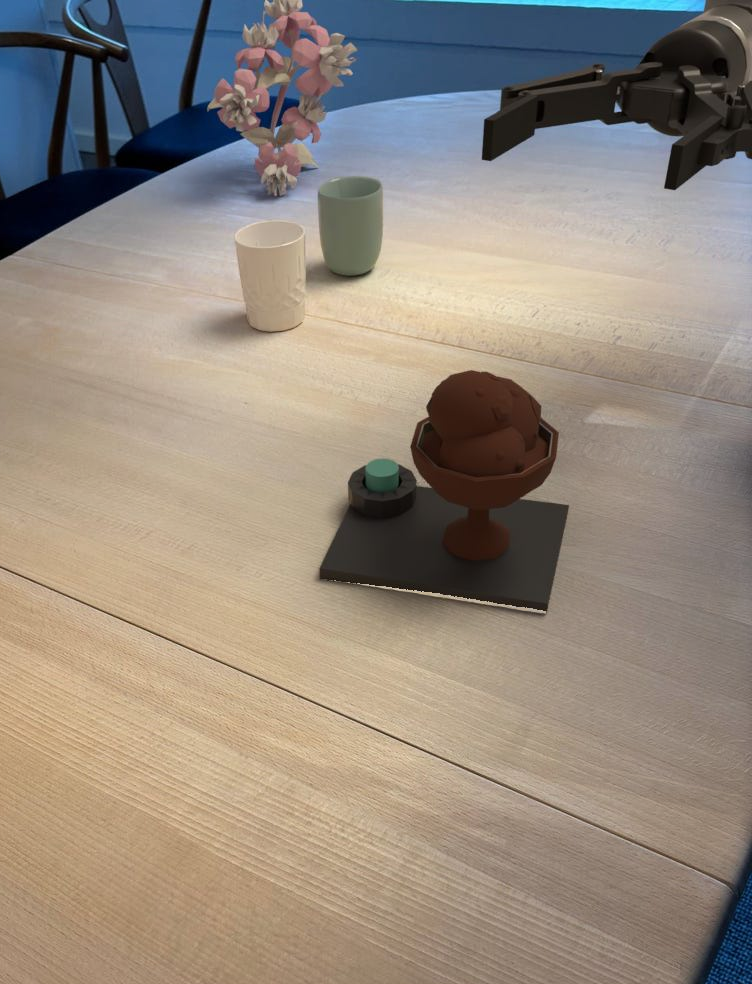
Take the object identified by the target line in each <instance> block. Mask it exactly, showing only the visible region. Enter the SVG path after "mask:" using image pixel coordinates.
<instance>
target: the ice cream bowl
mask: <svg viewBox="0 0 752 984" xmlns="http://www.w3.org/2000/svg"><path fill="white" fill-rule="evenodd" d="M425 409H426V412H427V415H428V416H427V417H426V418H424V419H421V420H420V421H418V422H416V426H415V430H414V433H413V436H412V438H411V443H410V446H409V447H410V451H411V452H410V453H411V457H412V461H413V464H414V466H415V468H416V470H417V472H418V473H419V476H421V478H422V479H423V480H424V481H425V482H426V483H427V484H428V485H429V487H430V488H433V490H434V491H435V492H436V493H437V494H438V495H439V496H441V497H442V498H443V499H445V500H446V501H447V502H450V503H453V504H457V505H460V506H464V507H467V508H468V516H467V517H461V518H459V519H457V520H456V521H454V522H452V523H451V524H449V525H447V527H446V530H445V533H444V538H443V542H442V543H443V544H444V546H445V547H446V548H447V549H448V550H449V551H450V552H451V554H452V555H455V556H458V557H461V558H465V559H468V560H471V561H477V560H488V559H495V558H496V557H498V556H499V555H501V554H502V553H504V552H505V551H507V550H509V544H510V537H511V536H510V533H509V531H508V530H507V529H506V528H505V527H504V526H503V525H502V524H501V523H500V522H499V521H498V520H495V519H491V518H489V510H490V509H493V508H502V507H507V506H508V505H510V504H512V503H513V502H515V501H517V500H518V499H523V497H525V496H527V495H528V494H530V493H531V492H532V491H535V490H536V489H538V488H539V487H541V486H542V485H543V484H544V483H545V481H546V480H547V479H548V478H549V476H550V474H551V473H552V469H553V467H554V464H555V462H556V460H557V456H558V455H557V454H558V446H559V445H558V444H559V435H560V432H559V431H558V430H557V429H556V428H554V427H553V426H552V425H551V424H550V423H548V422H547V421H546V420H545V419H543V418H542V404H540V403H539V402H538V400H537V399H536V398H535V397H534V396H533V395H531V394H530V393H529V392H528V391H527V390H526V389H524V388H523V386H521V385H519V384H518V383H517V382H516V381H514V380H513V379H511V378H507V377H502V376H497V375H495V374H493V373H491V372H489V371H478V370H473V369H469V370H466V371H462V372H456V373H452V374H450V375H448V376H447V377H446V378H445V379H443V380H442V381H440V383H439V384H437V386H436V387H435V388H434V389H433V391H432V392H431V397H430V398H429V401H428V402H427V404H426V406H425Z"/></svg>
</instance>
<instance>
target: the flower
mask: <svg viewBox="0 0 752 984" xmlns="http://www.w3.org/2000/svg"><path fill="white" fill-rule="evenodd" d="M263 7H264V10H263V12H262V21H261V22H256V23H257V24H256V23H255V22H252V24H253V26H252V27H251V28H250V29H248V27H247V25H246V23H244V25H243V30H242V36H241V37H242V40H243V41H244V42H245V44H246V45H248V46H249V47H247V48H244V49H241V50H239V51H236V55H235V58H234V61H235V65H236V69H237V70H235V71H234V75H233V77H234V78H233V87H232V86H231V84H230V83H228V81H227V80H226V79H224V78H223V77H222V78H221V79H220V80H219V82H218V83H217V85H216V87H215V89H214V92H213V93H214V98H213V99H212V100H211V101H210V102H209V104H208V105H207V108H206V111H207V112H209V111H210V110H214V109H217V108H221V109H219V110H218V111H217V112H216V113H217V115H218V118H219V120H220V121H221V123H223V125H225V126H226V127H228V128H229V129H233V128H235V130H236V131H237V132H241V133H239V135H240V136H242V137H243V138H244V139H245V140H247V141H248V142H249V143H251V144H252V145H254V146H255V147H256V148H258V154H257V156H258V157H254V169H255V171H257V173H258V174H259V176H261V177H260V185H263V184H265V183H266V189H265V191H267V196H270V195H272V196H275V197H277V196H278V195H277V191H278V193H279V197H282V196H285V195H286V194H287V191H288V190H287V185H289V186H290V187H291V188H292V189H293V190H294V189H295V187H296V185H297V183H298V178H296V177H297V176H298V175H299V174H300V173H301V171H302V167H306V166H309V165H312V166H314V167H316V168H317V169H319V165H318V164H317V162H316V161H315V159H314V158H313V155H312V153H311V151H310V150H309V148H307V146H306V145H305V144H303V143H302V142H303V141H304V140H306V139H308V138H309V137H310V136H311V134H312V138H311V142H310V144H317V143H319V142H320V139H321V137H322V131H321V129H320V127H319V125H318V123H319V124H320V123H321V122H323V121H325V120H326V117H327V113H328V111H324V110H325V108H326V107H327V105H324V103H322V101H323V99H321V98H322V97H323V96H324V95H326V94H327V93H329V91H330V90H331V88H332V86H333V87H337V88H339V87H340V88H341V87H344V86H345V84H344V83H343V81H342V80H341V79H340V78H339V77H338V76H343V75H346V76H349V77H351V76H352V75H354V73H353V71H352V70H351V68H346V67H350V65H351V64H353V63H355V62H356V60H357V59H358V58H357V57H356V58H355V57H352V56H351V57H350V55H352V54H353V53H356V52H358V49H357V47H356V46H355V45H354V44H353V43H352V42H351V41H350V42H349V43H347V44H346V45H342V43H343V41H344V39H345V37H346V35H343V34H342V33H339V32H335V33H331V34H330V35H329V33H328V30H327V28H324V27H322V26H321V25H318V23H317V20H316V19H314V17H313V16H311V15H310V13H309V11H308V12H307V11H301V10H302V9H303V7H304V6H303V0H272V2H270V1H268V0H265V1H264V3H263ZM266 15H268V16H269V17H270V18H271V19H274V21H273V22H272V23H270V24H269V25H268V27H267V26H266V24H265V16H266ZM301 30H302V31H303V32H307V34H309V35H310V37H313V39H314V41H315V43H314V42H313V41H312V40H310V39H308V38H307V37H306V38H300V35H301ZM299 38H300V39H299ZM277 41H281V42H282V44H283V45H284V46H285V47H287V48H288V49H290V50H291V51H290V52H291V56H284V55H283V56H282V55H280V54H279V53H278V52H277V51H276V50H275V49H276V44H277ZM265 59H266V61H267V63H268V65H269V66H268V65H265V66H264V68H263V70H262V72H261V73H260V69H261V68H262V66H263V64H264V63H265ZM244 62H245V64H246V67H247V69H245V68H241V67H242V66H243V63H244ZM294 63H296V66H294ZM303 67H304V68H308V69H307V70H306V71H305V72H303V73H302V74H301V75H300V76H299V77H298V78H297V79H295V80H294V84H295V87H296V89H297V90H298V91H299V92H300V93H301V95H300V96H299V98H298V99H299V105H298V107H297V106H292V107H290V108H287V110H285V111H284V113H283V114H282V117H281V119H280V121H281V123H282V124H280V126H279V128H278V130H277V132H276V126H277V123H278V120H279V117H280V114H281V110H282V107H283V104H284V100H285V97H286V94H287V91H288V88H289V87H290V86H291V82H292V81H293V78H294V75H295V74H296V72H297V70H299V69H301V68H303ZM254 72H255V74H254ZM277 84H278V85H280V87H279V90H278V94H277V98H276V100H275V101H276V102H275V105H274V109H273V111H272V115H271V122H270V128H266V127H264V126H261V127H260V124H261V118H259V117H258V116H257V114H256V113H262V112H263V113H264V112H266V111H267V110H268V109H269V108H270V93H269V88H272V87H273V86H275V85H277ZM320 99H321V100H320ZM321 103H322V104H321ZM320 104H321V105H320ZM275 132H276V134H275ZM296 140H298V141H300V142H295V141H296ZM294 142H295V143H294ZM276 149H277V152H276V151H275V150H276Z"/></svg>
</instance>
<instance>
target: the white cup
mask: <svg viewBox="0 0 752 984" xmlns="http://www.w3.org/2000/svg"><path fill="white" fill-rule="evenodd" d="M233 238H234V247H235V251H236V259H237V266H238V274H239V279H240V280H239V281H240V286H241V290H242V297H243V301H244V305H245V313H246V318H247V319H246V320H247V322H248V324H249V326H250V327H252V328H253V329H255V330H257V331H262V332H270V333H271V332H272V333H273V332H282V331H287V330H290V329H293V328H296V327H297V326H299V325H300V324H302V323H303V321H304V319H305V318H306V317H305V316H306V299H305V298H306V289H307V288H306V279H307V278H306V277H307V274H306V273H307V266H306V261H307V260H306V259H307V258H306V228H305V227H304V226H303V225H301V224H300V223H298V222H294V221H291V220H290V221H289V220H282V219H281V220H280V219H275V220H274V219H273V220H272V219H271V220H263V221H257V222H253V223H250V224H247V225H244V226H243V227H241V228H239V229H238V230H237V231H236V232H235V234H234V236H233Z"/></svg>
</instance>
